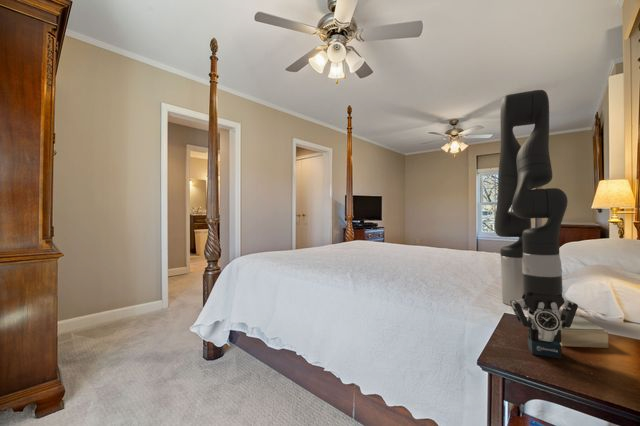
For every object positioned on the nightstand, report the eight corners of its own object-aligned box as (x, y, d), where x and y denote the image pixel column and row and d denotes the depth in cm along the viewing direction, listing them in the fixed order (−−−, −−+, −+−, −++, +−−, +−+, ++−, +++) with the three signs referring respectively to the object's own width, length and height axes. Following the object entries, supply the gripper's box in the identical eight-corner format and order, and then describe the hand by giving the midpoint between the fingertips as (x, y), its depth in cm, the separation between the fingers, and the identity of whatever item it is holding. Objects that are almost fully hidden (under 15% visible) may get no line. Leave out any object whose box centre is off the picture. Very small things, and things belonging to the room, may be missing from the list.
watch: (534, 357, 67) (533, 310, 67) (526, 343, 74) (525, 300, 74) (564, 363, 65) (564, 314, 64) (553, 347, 72) (553, 303, 72)
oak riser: (539, 329, 82) (538, 314, 82) (579, 331, 80) (579, 315, 80) (561, 346, 72) (561, 328, 72) (608, 347, 70) (607, 330, 70)
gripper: (564, 268, 72) (568, 338, 72) (502, 269, 74) (505, 336, 74) (586, 275, 64) (590, 352, 64) (516, 275, 67) (519, 349, 67)
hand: (544, 343), depth 69 cm, fingers closed on watch, 3 cm apart
